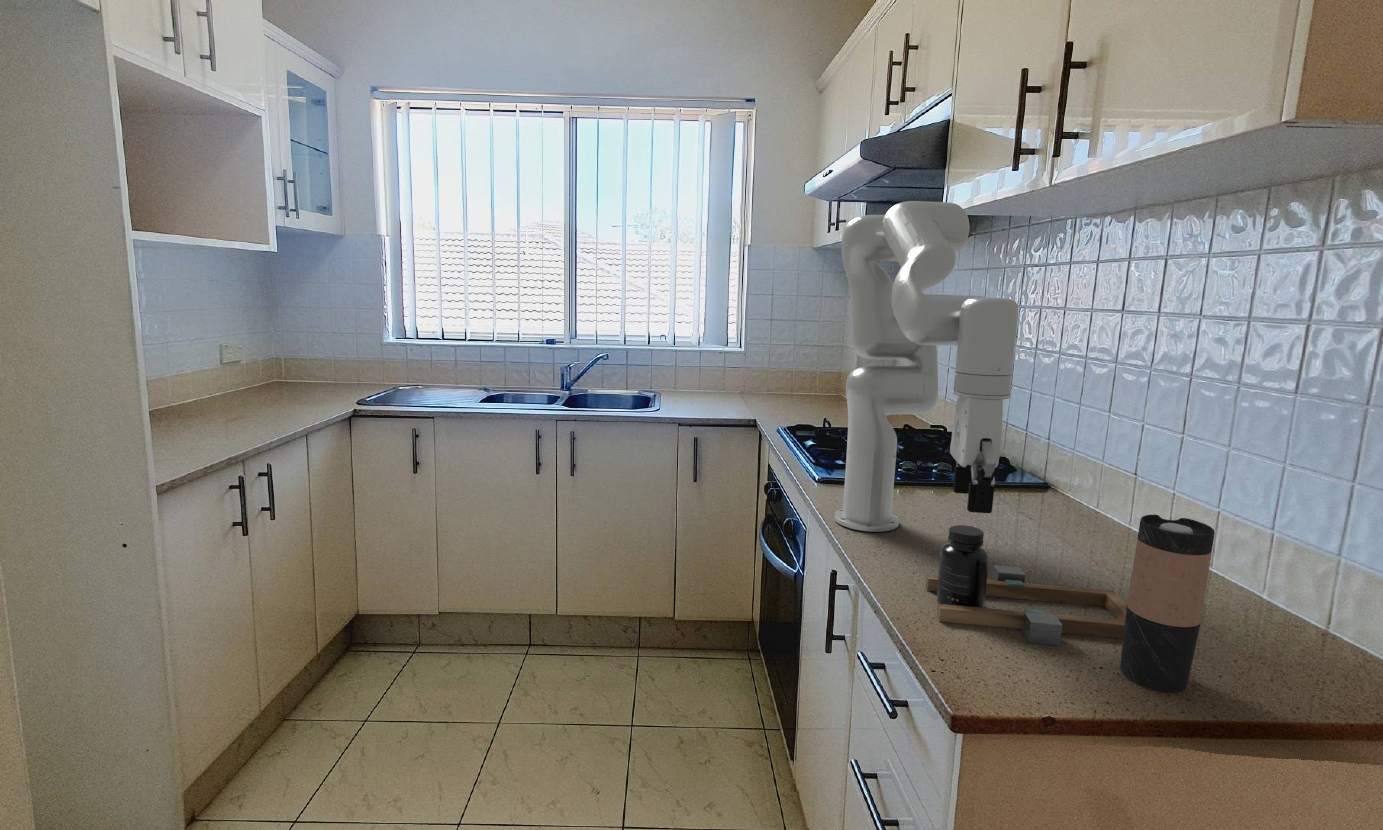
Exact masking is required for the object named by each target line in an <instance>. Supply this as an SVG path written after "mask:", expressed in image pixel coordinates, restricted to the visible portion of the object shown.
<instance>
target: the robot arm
mask: <svg viewBox="0 0 1383 830" xmlns="http://www.w3.org/2000/svg"><path fill="white" fill-rule="evenodd" d="M966 212H967V211H966V210H965V209H964V208H963V207H962V206H961V205H960V204H957V203H954V202H946V201H943V202H942V201H921V200H908V201H901V202H898V203H896V204H894V205H893V206H892V207H890V208H889V209H888V210H887V212H886V213H885V214H867V215H861V216H857V217H855V218H853V219H851V220H850V221H848V222H847V224H846V226H845V227H844V229H843V232H842V236H841V237H842V238H841V260H842V264H843V268H844V272H845V275H846V278H847V281H848V285H849V290H850V291H849V292H850V310H851V311H850V313H851V314H850V315H851V339H852V346H853V351H854V352H855V354H856V355H857V356H859V357H860V358H864V359H870V360H871V359H872V360H904V362H905V365H892V364H891V365H889V364H888V365H887V364H886V365H883V364H882V365H874V364H873V365H865V366H860V367H857V368H855V369H854V370H852V371H851V372H850V373H849V375H848V376H847V379H846V383H845V395H846V406H847V424H848V425H847V441H846V442H847V443H846V455H845V456H846V460H845V475H844V486H843V487H844V489H843V502H842V503H843V504H842V508H840V509H838V510H836V511H835V512H834V521H835V522H837V523H838V525H841V526H843V527H846V528H847V529H851V530H857V531H861V532H870V533H873V532H874V533H879V532H883V533H884V532H888V531H889V532H890V531H893V530H895V529H896V528H898V527H899V525H900V519H899V517H898V516H897V515H895V514H894V513H892V511H893V501H894V500H893V499H894V498H893V497H894V485H895V474H896V461H897V447H898V437H897V434H896V431H895V429H894V427H893V426H892V425H891V423H890V422H889V420H888V418H887V416H893V415H924V414H927V413H929V412H931V411H932V410H934V408H935V406H936V404H937V402H938V396H939V369H938V346H955V347H956V357H955V358H956V359H955V372H954V383H953V395H954V396H957V399H956V403H955V410H954V418H953V422H952V423H953V424H952V425H953V426H952V432H951V440H950V447H949V451H950V452H949V453H950V456H952V457H953V459H954V460H955V467H954V476H953V488H952V491H953V492H954V493H956V494H965V495H967V505H966V506H967V507H966V509H967V511H968V512H969V513H979V514H992V512H993V504H994V496H995V495H994V493H995V485H996V479H995V477H996V471H995V469H996V468H997V467H998V466H999V462H1000V461H999V460H1000V454H1001V445H1002V435H1003V434H1002V432H1003V415H1004V413H1003V412H1004V410H1003V409H1004V400H1008V399H1010V398H1011V392H1012V381H1013V371H1014V360H1015V349H1016V339H1017V332H1018V330H1017V329H1018V321H1019V320H1018V319H1019V306H1018V304H1017V302H1016V301H1015V300H1014V299H1011V298H1007V297H1005V298H1004V297H989V296H988V297H987V296H985V295H984V296H982V295H961V294H954V295H953V294H925V293H924V292H923V291H926V290H927V289H930V288H932V287H934V286H936V285H938V284H940V283H941V282H942V281H944V280H945V279H947V277H949V275H950V274H951V273H952V272H953V270H954V267H955V265H956V259H957V257H956V252H957V251H959V250H960V249H962V248H963V246H964V245H966V243H967V240H968V238H969V235H970V221H969V216H968V214H967V213H966ZM880 261H881V262H897V264H898V265H899V267H900V269H899V271H898V273H897V274H896V276H895V277H894V281H893V280H892V278H891V277H890V275H889V274H888V272H887V271H886V270H885V269H884V268H883V267H882V266H881V265H880V264H879V262H880Z"/></svg>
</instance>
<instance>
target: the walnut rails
mask: <svg viewBox="0 0 1383 830" xmlns="http://www.w3.org/2000/svg"><path fill="white" fill-rule="evenodd" d="M925 581H926V582H925V588H926V591H927V592H936V593H937V587H938V575H929V574H927V575H926V579H925ZM985 597H996V598H1006V599H1007V598H1009V599H1016V600H1017V599H1019V600H1029V601H1030V600H1031V601H1042V602H1052V603H1065V604H1078V605H1086V606H1087V605H1088V606H1091V605H1092V606H1100V607H1101V606H1102V607H1105V609H1106V610H1107V611H1109V613H1110V614H1111V615H1112V616H1113V617H1114V619H1112V618H1102V617H1101V618H1100V617H1090V616H1078V615H1068V614H1067V615H1066V614H1055V613H1047V612H1046V613H1045V612H1044V611H1043V610H1036V609H1024V611H1022V610H1013V609H1012V610H1010V609H1003V608H1002V609H998V608H991V607H984V608H980V607H969V606H957V605H946V604H937V616H936V617H937V620H938V622H940V623H941V622H943V623H950V624H965V625H973V626H975V625H976V626H986V627H996V628H997V627H998V628H1005V629H1016V630H1018V629H1019V630H1022V628H1023V620H1024V612H1027V613H1038V614H1049V615H1055V616H1056V617H1057V618H1058V620H1059V621H1060V622H1061V624H1062V633H1061V634H1073V635H1082V636H1091V637H1092V636H1094V637H1101V638H1102V637H1103V638H1105V637H1106V638H1113V639H1115V638H1116V639H1123V635H1124V626H1125V617H1126V607H1127V602H1126V603H1125V601H1124V600H1123V599H1122V598H1121V597H1120V596H1119V595H1118V594H1117V593H1116V592H1115V591H1114V590H1110V589H1098V588H1086V587H1075V586H1073V587H1072V586H1062V585H1052V584H1051V585H1049V584H1038V583H1027V582H1024V583H1022V581H1016V580H1005V581H993V580H989V579H987V585H986V596H985Z"/></svg>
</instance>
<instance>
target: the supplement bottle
mask: <svg viewBox="0 0 1383 830" xmlns="http://www.w3.org/2000/svg"><path fill="white" fill-rule="evenodd" d="M948 530H949V531H948V537H947V541H948V543H945V544H943V545H942V546H941V549H940V552H939V561H938V562H939V564H938V573H937V574H938V575H937V576H938V587H937V592H936V602H937V603H938V604H946V605H957V606H969V607H980V608H985V605H986V604H985V603H986V597H987V596H986V585H987V580H988V573H989V565H990V564H989V561H990V556H989V553H988V551H987V550H986V549H985V548H984V547H983V546H984V544H985V543H984V542H985V541H984V535H985V534H984V531H983V530H982V529H980V528H978V527H976V526H975V527H974V526H972V525H965V524H958V525H957V524H956V525H952V526H950V527H949V529H948ZM938 604H937V605H938Z"/></svg>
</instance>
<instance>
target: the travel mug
mask: <svg viewBox="0 0 1383 830" xmlns="http://www.w3.org/2000/svg"><path fill="white" fill-rule="evenodd" d="M1215 534H1216V533H1215V530H1214V528H1213V527H1211V526H1210V525H1208V524H1206V523H1203V522H1201V521H1198V520H1194V519H1192V518H1191V519H1190V518H1186V517H1181V518H1178V519H1166V518H1162V517H1161V516H1160V515H1158V514H1154V513H1153V514H1145V515H1143V516H1141V518H1140V520H1139V526H1138V533H1137V539H1136V543H1135V545H1136V546H1135V551H1134V557H1133V564H1132V570H1131V577H1130V582H1129V589H1128V593H1127V600H1126V605H1127V607H1126V617H1125V626H1124V635H1123V638H1122V646H1121V652H1120V666H1119V667H1120V671H1121V674H1122V675H1123V676H1124V677H1125V678H1126V679H1128V681H1131V682H1133V683H1135V684H1136V685H1139V686H1142V687H1143V688H1146V689H1150V690H1153V691H1157V692H1163V693H1170V694H1171V693H1172V694H1173V693H1180V692H1183V691H1185V690H1186V689H1187V687H1188V683H1189V678H1190V675H1191V670H1192V665H1193V661H1194V655H1195V651H1196V647H1197V646H1196V645H1197V642H1198V637H1199V632H1200V628H1201V622H1202V615H1203V611H1204V603H1205V599H1206V597H1205V596H1206V591H1207V584H1208V577H1209V572H1210V571H1209V570H1210V567H1211V566H1210V565H1211V561H1212V551H1213V547H1214V540H1215Z"/></svg>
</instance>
